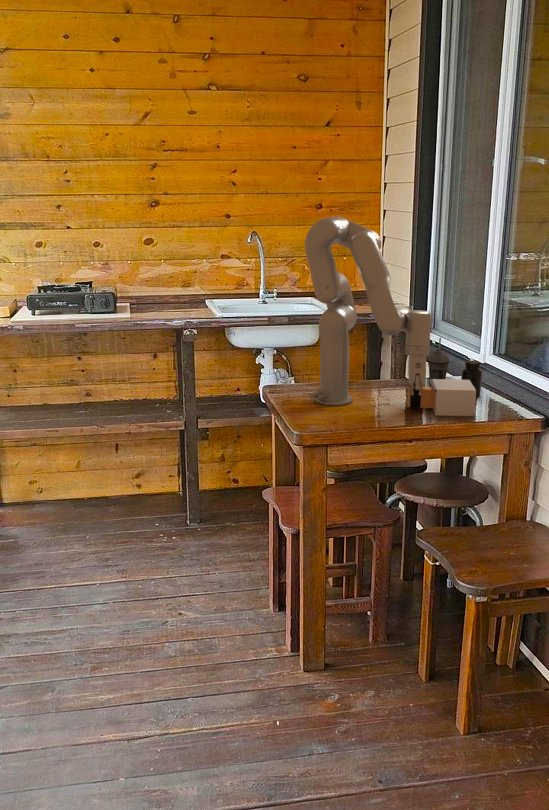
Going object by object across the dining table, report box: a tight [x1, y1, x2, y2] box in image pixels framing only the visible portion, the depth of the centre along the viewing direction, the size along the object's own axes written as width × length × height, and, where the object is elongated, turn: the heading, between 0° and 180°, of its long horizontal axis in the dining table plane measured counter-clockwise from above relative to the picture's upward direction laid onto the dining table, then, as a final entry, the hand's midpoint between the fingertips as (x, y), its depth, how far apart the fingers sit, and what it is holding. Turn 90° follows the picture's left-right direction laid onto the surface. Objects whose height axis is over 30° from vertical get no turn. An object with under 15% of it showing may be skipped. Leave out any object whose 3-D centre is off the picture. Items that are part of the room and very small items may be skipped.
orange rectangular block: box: [407, 385, 435, 409], centre depth 242 cm, size 4×12×6 cm, turn 84°
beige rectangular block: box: [430, 378, 477, 417], centre depth 241 cm, size 14×13×8 cm
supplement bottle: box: [460, 360, 483, 399], centre depth 257 cm, size 7×7×12 cm
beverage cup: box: [427, 337, 450, 387], centre depth 259 cm, size 7×7×20 cm
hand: (414, 404), depth 243 cm, fingers closed on orange rectangular block, 4 cm apart
